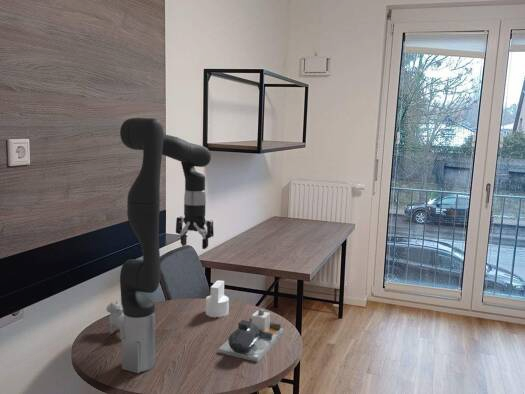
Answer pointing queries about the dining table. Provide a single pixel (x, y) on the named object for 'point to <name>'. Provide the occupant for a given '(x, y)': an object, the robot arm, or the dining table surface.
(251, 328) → the motor mount
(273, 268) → the dining table surface
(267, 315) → the cube with round knob
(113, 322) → the dog figurine
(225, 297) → the white appliance knob
